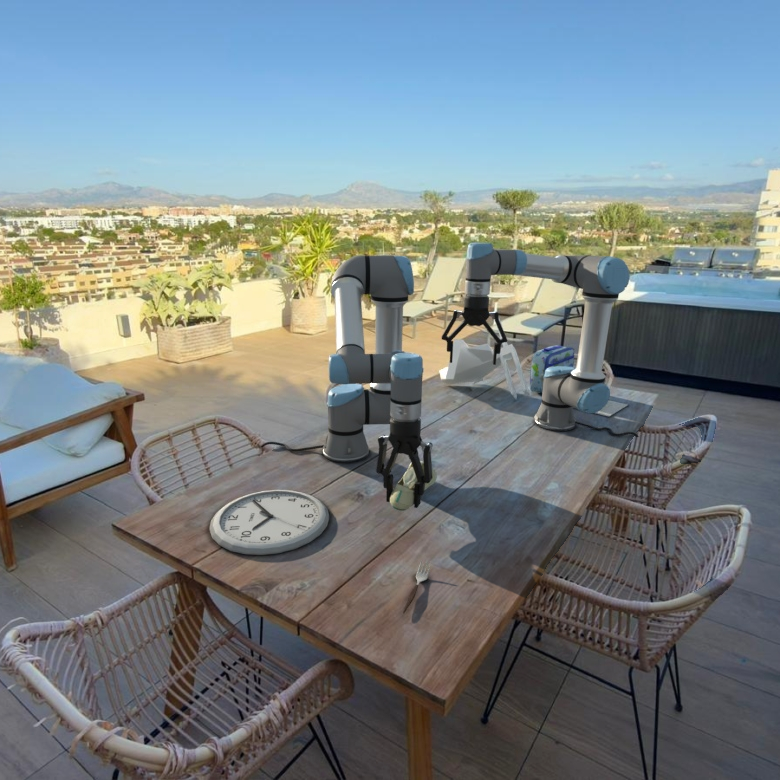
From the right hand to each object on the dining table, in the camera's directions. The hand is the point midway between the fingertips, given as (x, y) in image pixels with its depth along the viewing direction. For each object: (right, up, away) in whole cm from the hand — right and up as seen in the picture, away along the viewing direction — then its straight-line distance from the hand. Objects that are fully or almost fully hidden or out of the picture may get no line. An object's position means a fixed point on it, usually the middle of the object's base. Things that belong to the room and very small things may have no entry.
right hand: (472, 362), depth 166 cm
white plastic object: (+16, -10, +77) cm, 80 cm away
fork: (-21, -51, -56) cm, 78 cm away
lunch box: (+50, -9, +82) cm, 97 cm away
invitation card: (+65, -16, +61) cm, 90 cm away
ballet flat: (-19, -36, -25) cm, 48 cm away
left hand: (-23, -37, -33) cm, 54 cm away
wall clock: (-57, -42, -31) cm, 77 cm away
